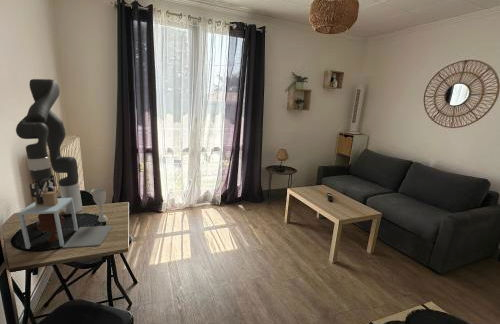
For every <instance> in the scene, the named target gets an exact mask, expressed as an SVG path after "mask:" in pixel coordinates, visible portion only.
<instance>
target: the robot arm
mask: <svg viewBox="0 0 500 324" xmlns="http://www.w3.org/2000/svg"><path fill="white" fill-rule="evenodd" d="M29 89H30V92H31V96H32V98H33V101H34V103H32V104H31V105H30V106H29V109H28V111H27V114H26V115H25V116H24V118H22V119H21V120H20V121H18V124H17V125H16V128H15V133H16V136H18V137H19V138H20V139H23V140H37V142H35V143H31V144H27V145H26V146H25V152H26V157H27V165H28V166H27V167H28V171H29V176H30V179H32V180H34V183H30V184H29V189H30V197H31V198H34V197H36V200H37V204H38V205H42V204H44V201H43V196H42V195H43V192H55V190H54V189H55V187H56V186H57V185H56V180H55V179H56V178H55V175H54V174H53V172H52V170H53V171H54V172H55V173H57V174H58V173H59V174H66V175H67V176H64V177H62V178H60V179H59V180H58V186H59V192H60V198H73V202H74V208H75V214H77V213H80V212H81V211H83V203H82V202H83V201H82V197H81V191H80V183H79V170H78V162H77V159H76V158H75V157H73V156H62V155H61V147H62V144H63V142H64V140H65V138H66V134H67V133H66V129H65V125H64V121H63V120H62V119H61V118H60V117H59V116H58V115H57V114H56V113H55V112H54V111H52V107H53V106H54V104H55V103H56V101H57V99H58V98H59V96H60V92H61V91H60V87H59V84H58V82H57V81H56V80H55V79H51V78H50V79H49V78H47V79H46V78H44V79H43V78H33V79H29ZM47 149H48V150H47ZM48 152H49V153H48ZM48 154H49V155H48ZM45 190H46V191H45ZM39 192H40V194H39ZM62 210H63V213H64V214H65V215H72V214H71V208H70V203H68V204H67V205H66V206H65V207H64V208H62Z"/></svg>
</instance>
